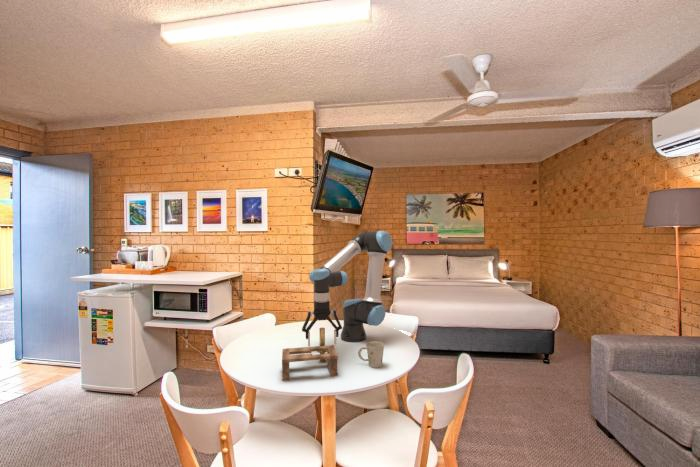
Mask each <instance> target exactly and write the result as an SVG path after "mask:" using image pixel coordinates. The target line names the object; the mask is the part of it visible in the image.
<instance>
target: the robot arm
mask: <svg viewBox="0 0 700 467" xmlns="http://www.w3.org/2000/svg"><path fill="white" fill-rule="evenodd" d="M392 248H393V240H392V236H391V235H390V233H389V232H388V231H385V230H384V231H383V230H376V231H375V230H372V231H371V230H370V231H363V232H361V233H359V234H357V235H355V236H354V237H353V238H351V239H349V241H348V242H347V245H346V246H345V247H343V248H342V249H341V250H340V251H339V252H337V253H336V254H335V255H334V256H333V257H332V258H330V259H329V260H328V261H327V262H325V263H324V264H323V265H322V266H321V267H319V268H317V269H313V270H311V271H310V273H309V278H308V279H309V280H310V282H311V283H312V284H313V300H314V302H313V305H314V306H313V307H314V308H313V311H310V310H308V311H307V316H306V318H305V320H304V323H303V326H302V327H301V331H302V333H305V340H307V347H311V332H310V331H311V329H312V327H314V325H315V324H316V322H317V321H326V320H327V321H328V322H329V323H330V325H331V326H332V327H333V328H334V330H333V342H334V345H337V344H338V343H337V338H338V337H339V331H341V332H340V340H342V341H344V342H351V343H355V342H356V341H358V342H362V340H363V341H365V340H366V339H367V333H366V330H365V326H364V325H368V326H374V327H377V326H380V325H381V324H382V323H383V322H384V320H385V317H386V308H385V307H384V305H383V301H382V300H381V291H382V282H383V272H384V263H385V262H384V260H385V258H386V257H387V255H388V252H389V251H391V249H392ZM365 251H366V252H367V255H368V256H369V257H368V258H369V259H368V266H367V276H366V284H365V285H366V286H365V292H364V293H365V295H364V297H363V298H353V299H352V298H351V299H346V300H344V302H343V307H342V308H343V311H342V312H343V314H342V315H343V326H342V324H341V321H340V320H339V317H338V316H337V311H336V309H333V310H331V309H330V307H331V306H330V288H334V287H336V288H337V287H341V286H345V285H346V284H347V283H348V279H349V278H348V277H349V276H348V274H347V272H345V271H343V270H341V269H342V267H343V266H344V265H346V264H347V263H348V262H349V261H351V259H352V258H354V257H355V256H356V255H360V254H361V253H362V252H365ZM313 315H314V318H313V319H312V321H311V322H310V323H309V321H310V319H311V317H312V316H313ZM330 315H333V317H334V319H335V322H336V324H337V325H336V324H335V322H334V321H333V320H332V319H331V317H330ZM364 339H365V340H364ZM356 343H357V342H356Z"/></svg>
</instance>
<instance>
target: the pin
mask: <svg viewBox="0 0 700 467" xmlns="http://www.w3.org/2000/svg"><path fill="white" fill-rule="evenodd" d="M325 330H326V328H325V327H319V346H326V331H325ZM315 352H316V353H318V354H326V353H327V351H315ZM319 362H321V363H324V362H326V359H323V360H319Z"/></svg>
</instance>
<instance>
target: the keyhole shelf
mask: <svg viewBox="0 0 700 467" xmlns="http://www.w3.org/2000/svg"><path fill="white" fill-rule="evenodd" d="M281 351H282V352H281V354H282V355H281V370H282V371H281V374H282V375H281V376H282V378H281V380H282V381H289V380H290V363H296V362H308V361H320V360H323V359H325V360H327V368H328V371H329V375H330V376H331V377H332V376H338V359H339V355H338V351H337V349H336V347H335V344H329V345H325V346H320V345H316V346H304V347H290V348H282V350H281ZM316 351H327V352H326V353H325V354H320V353H318V354H317V353H316V354H313V353H312V352H316Z"/></svg>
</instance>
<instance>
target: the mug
mask: <svg viewBox="0 0 700 467" xmlns="http://www.w3.org/2000/svg"><path fill="white" fill-rule="evenodd" d="M365 345H366V346H360V347H359V349H358V351H357V356H358V357H359V359H360V360H362V361H364V362H368V366H369V367H370V368H375V369H377V368H381V367H382V366H383V357H384V349H385V343H384V342H382V341H377V340H375V341H368V342H367V343H366V344H365ZM363 350H366V353H367V358H364V357H363V356H362V355H361V353H362V351H363Z"/></svg>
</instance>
